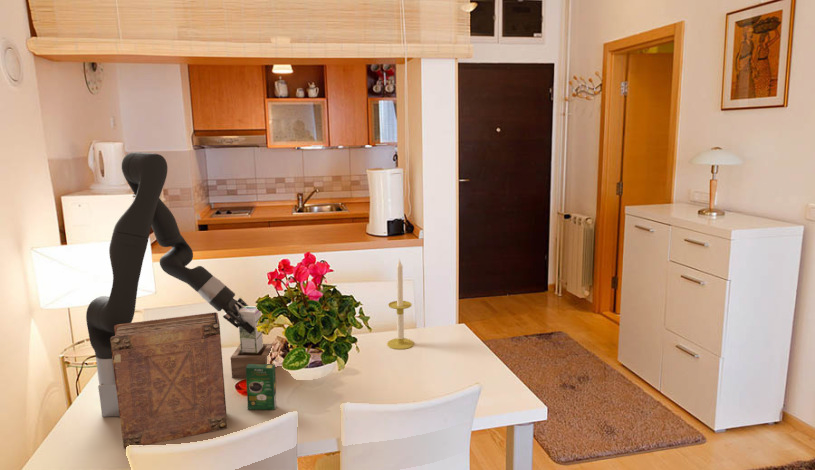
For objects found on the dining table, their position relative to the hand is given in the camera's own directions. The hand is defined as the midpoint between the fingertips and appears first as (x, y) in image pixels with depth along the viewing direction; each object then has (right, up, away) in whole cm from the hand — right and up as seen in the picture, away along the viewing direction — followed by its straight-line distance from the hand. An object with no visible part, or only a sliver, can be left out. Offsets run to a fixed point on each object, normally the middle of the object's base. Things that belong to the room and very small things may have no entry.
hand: (255, 327), depth 180 cm
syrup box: (-2, -8, +2) cm, 8 cm away
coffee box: (+8, -20, -21) cm, 30 cm away
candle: (+47, -10, +23) cm, 54 cm away
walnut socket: (-1, -15, +3) cm, 15 cm away
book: (-12, -22, -32) cm, 41 cm away
